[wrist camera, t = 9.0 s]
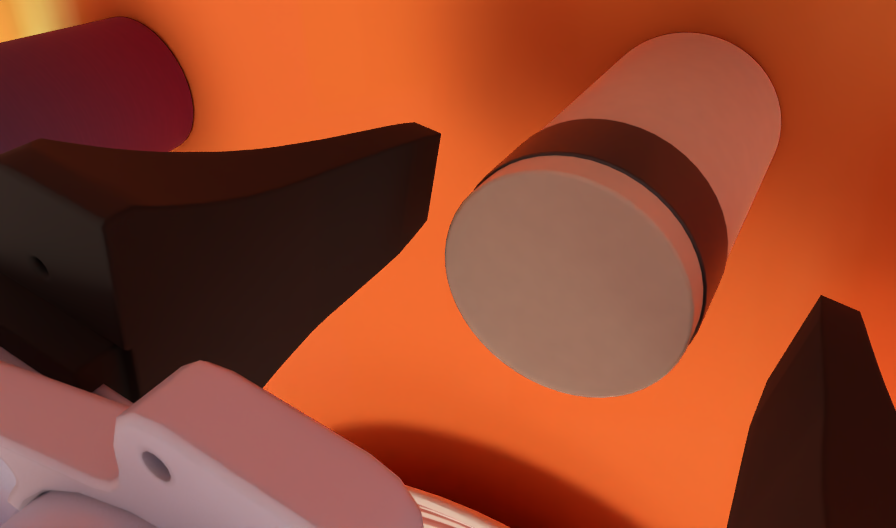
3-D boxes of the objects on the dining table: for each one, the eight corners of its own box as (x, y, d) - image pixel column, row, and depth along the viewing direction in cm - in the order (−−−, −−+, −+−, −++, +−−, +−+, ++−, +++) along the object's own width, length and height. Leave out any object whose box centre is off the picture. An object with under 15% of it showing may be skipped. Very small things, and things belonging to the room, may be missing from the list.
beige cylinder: (820, 67, 16) (744, 240, 10) (737, 232, 19) (643, 442, 13) (625, 3, 17) (462, 125, 12) (576, 166, 20) (425, 329, 14)
